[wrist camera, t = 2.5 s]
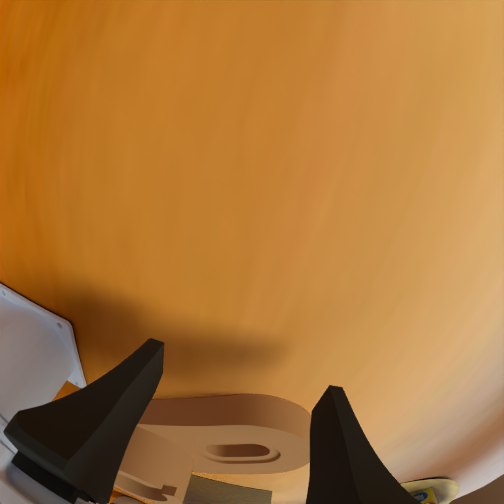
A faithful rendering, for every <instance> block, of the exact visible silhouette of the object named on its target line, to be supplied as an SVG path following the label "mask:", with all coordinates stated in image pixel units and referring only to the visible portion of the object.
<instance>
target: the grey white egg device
mask: <svg viewBox="0 0 504 504" xmlns="http://www.w3.org/2000/svg"><path fill="white" fill-rule="evenodd" d="M110 504H145V503H143V502H141V501H139V500H136V499H134V498H131V497H128V496H120V497H117V498H116V499H114V500H113V502H112V503H110Z"/></svg>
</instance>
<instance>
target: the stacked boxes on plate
mask: <svg viewBox="0 0 504 504" xmlns="http://www.w3.org/2000/svg"><path fill="white" fill-rule="evenodd" d="M400 485H401V486H402V487H403V488H405V489H406V490H407V491H408V492H409V493H410V494H411V495H412V496H413V497H415V498H416V499H417V500H418V501H419V502H421V503H422V504H449V503H450V502H451V501H452V500H453V499H454V498H455V497H456V495H457V494H458V492H459V484H458V483H457V482H455V481H453V480H448V479H428V480H420V481H414V482H408V483H402V484H400Z"/></svg>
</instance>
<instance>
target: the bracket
mask: <svg viewBox="0 0 504 504" xmlns="http://www.w3.org/2000/svg"><path fill="white" fill-rule="evenodd" d="M310 423H311V415H310V413H309V412H308V411H307V410H305V409H304V408H303V407H301V406H299V405H297V404H296V403H293V402H291V401H288V400H285V399H282V398H279V397H274V396H269V395H262V394H236V395H226V396H214V397H201V398H182V399H151V401H150V402H149V404H148V406H147V408H146V410H145V411H144V413H143V415H142V417H141V419H140V421H139V422H138V424H137V426H136V428H135V430H134V432H133V434H132V436H131V439H130V441H129V444H128V446H127V449H126V451H125V454H124V457H123V459H122V462H121V465H120V468H119V471H118V474H117V477H116V480H115V483H114V486H115V487H116V488H118V489H120V490H122V491H124V492H127V493H129V494H131V495H133V496H136V497H138V498H141V499H144V500H147V501H150V502H153V503H157V504H183V500H184V497H185V494H186V490H187V487H188V484H189V480H190V477H191V474H192V472H200V473H216V474H270V473H282V472H288V471H292V470H295V469H298V468H301V467H303V466H304V465H306V464H308V463H309V462H310Z"/></svg>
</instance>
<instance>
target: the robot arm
mask: <svg viewBox="0 0 504 504" xmlns="http://www.w3.org/2000/svg"><path fill="white" fill-rule="evenodd" d="M163 359H164V342H161V341H158V340H155V339H152V338H150V339H148V340H147V341H146V342H145V343H144V344H143V345H142V346H141V347H140V348H138V349H137V350H136V351H135V352H134V353H133V354H131V355H130V356H129V357H128V358H127V359H125V360H124V361H123V362H121V363H120V364H119V365H118V366H116V367H115V368H114V369H112V370H111V371H109V372H108V373H106V374H105V375H103V376H102V377H101V378H99V379H97V380H96V381H94V382H93V383H91V384H89V385H86V381H85V378H84V374H83V371H82V367H81V363H80V359H79V355H78V351H77V347H76V343H75V338H74V333H73V329H72V325H71V324H70V323H69V322H68V321H67V320H65V319H63V318H61V317H59V316H57V315H55V314H53V313H51V312H49V311H47V310H45V309H44V308H42V307H40V306H38V305H36V304H34V303H33V302H31V301H29V300H27V299H26V298H24V297H22V296H21V295H19V294H17V293H15V292H14V291H12V290H10V289H9V288H7V287H6V286H4V285H2V284H1V283H0V504H90V503H88V502H89V501H90V502H93V503H95V504H96V503H99V504H107V503H109V500H110V497H111V493H112V490H113V486H114V483H115V480H116V477H117V474H118V471H119V468H120V465H121V462H122V459H123V457H124V454H125V451H126V449H127V446H128V444H129V441H130V439H131V436H132V434H133V432H134V430H135V428H136V426H137V424H138V422H139V421H140V419H141V417H142V415H143V413H144V411H145V410H146V408H147V406H148V404H149V402H150V401H151V399H152V397H153V395H154V393H155V391H156V389H157V386H158V384H159V381H160V379H161V376H162V374H163ZM66 381H69V382H71V383H72V384H74V385H76V386H78V387H80V388H82V389H80V390H78V391H76V392H74V393H72V394H70V395H67V396H65V397H63V398H60V399H58V400H55V401H52V400H53V399H54V397H55V396H56V395H57V393H58V392H59V390H60V389H61V388H62V386H63V385H64V383H65V382H66ZM306 504H422V503H421V502H419V501H418V500H417V499H416V498H415V497H413V496H412V495H411V494H410V493H409V492H408V491H407V490H406V489H405V488H403V487H402V486H401V485H400V483H399V482H398V481H397V480H396V479H395V478H394V477H393V476H392V474H391V473H390V472H389V471H388V470H387V468H386V467H385V466H384V465H383V463H382V462H381V460H380V459H379V457H378V456H377V455H376V453H375V451H374V450H373V448H372V447H371V445H370V443H369V441H368V440H367V438H366V436H365V434H364V432H363V430H362V428H361V426H360V424H359V422H358V420H357V418H356V416H355V414H354V412H353V410H352V408H351V405H350V403H349V401H348V399H347V396H346V394H345V392H344V390H343V388H342V387H338V386H332V385H329V387H328V388H327V390H326V391H325V393H324V394H323V395H322V397H321V398H320V400H319V401H318V403H317V404H316V406H315V407H314V408H313V410H312V415H311V423H310V478H309V486H308V493H307V499H306Z"/></svg>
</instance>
